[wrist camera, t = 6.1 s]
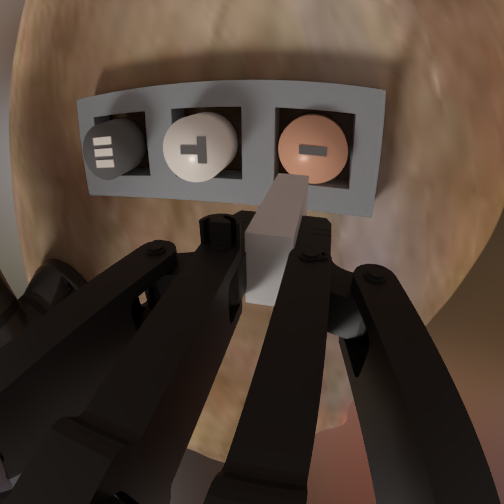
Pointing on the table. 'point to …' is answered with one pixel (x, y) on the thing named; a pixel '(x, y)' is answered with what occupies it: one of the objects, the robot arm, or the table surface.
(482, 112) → the table surface
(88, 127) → the panel
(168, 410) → the robot arm
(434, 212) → the table surface
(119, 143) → the button black
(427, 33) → the table surface
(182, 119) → the button white
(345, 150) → the button terracotta
